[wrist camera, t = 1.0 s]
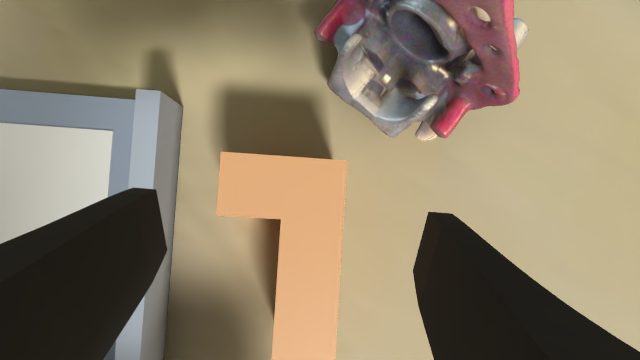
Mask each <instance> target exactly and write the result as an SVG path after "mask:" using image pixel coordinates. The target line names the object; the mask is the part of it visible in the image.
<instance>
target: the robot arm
mask: <svg viewBox="0 0 640 360" xmlns="http://www.w3.org/2000/svg"><path fill="white" fill-rule="evenodd" d="M166 252H167V245H166V239H165V234H164V229H163V223H162V218H161V212H160V207H159V201H158V196H157V191H156V189H146V188H131V189H128V190H125V191H122V192H119V193H117V194H114V195H112V196H110V197H107V198H105V199H103V200H100V201H98V202H96V203H94V204H91V205H89V206H87V207H85V208H83V209H80V210H78V211H76V212H74V213H71V214H69V215H67V216H65V217H62V218H60V219H58V220H56V221H53V222H51V223H49V224H47V225H44V226H42V227H40V228H37V229H35V230H32V231H30V232H28V233H25V234H23V235H20V236H18V237H16V238H13V239H11V240H8V241H6V242H4V243H1V244H0V360H103V359H104V358H105V356H106V355H107V353H108V352H109V350H110V349H111V347H112V345H113V344H114V342H115V341H116V339H117V338H118V336H119V335H120V333H121V332H122V330H123V328H124V327H125V325H126V324H127V322H128V321H129V319H130V318H131V316H132V315H133V313H134V311H135V310H136V308H137V307H138V305H139V304H140V302H141V300H142V299H143V297H144V296H145V294H146V292H147V291H148V289H149V288H150V286H151V284H152V283H153V281H154V278H155V276H156V274H157V272H158V270H159V268H160V266H161V264H162V261H163V259H164V257H165V255H166ZM413 274H414V281H415V288H416V294H417V300H418V306H419V309H420V313H421V316H422V320H423V323H424V327H425V330H426V334H427V337H428V340H429V344H430V347H431V351H432V354H433V357H434V360H640V352H639V351H637V350H636V349H634V348H633V347H631V346H629V345H628V344H626V343H624V342H623V341H621V340H620V339H618V338H616V337H615V336H613V335H612V334H610V333H609V332H607V331H606V330H604V329H603V328H601V327H600V326H598V325H597V324H595V323H594V322H592V321H591V320H589V319H588V318H586V317H585V316H583V315H582V314H580V313H579V312H577V311H576V310H574V309H573V308H571V307H570V306H569V305H567V304H566V303H564V302H563V301H561V300H560V299H559V298H557V297H556V296H555V295H553V294H552V293H551V292H549V291H548V290H547V289H545V288H544V287H543V286H541V285H540V284H539V283H537V282H536V281H535V280H533V279H532V278H531V277H529V276H528V275H527V274H526V273H524V272H523V271H522V270H520V269H519V268H518V267H517V266H515V265H514V264H513V263H512V262H510V261H509V260H508V259H507V258H506V257H504V256H503V255H502V254H501V253H499V252H498V251H497V250H496V249H495V248H493V247H492V246H491V245H490V244H489V243H488V242H486V241H485V240H484V239H483V238H482V237H480V236H479V235H478V234H477V233H476V232H474V231H473V230H472V229H471V228H470V227H468V226H467V225H466V224H465V223H464V222H462V221H461V220H460V219H458V218H457V217H456V216H454V215H453V214H449V213H437V212H428V216H427V220H426V223H425V227H424V231H423V235H422V239H421V242H420V246H419V250H418V254H417V257H416V261H415V265H414V269H413Z"/></svg>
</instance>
